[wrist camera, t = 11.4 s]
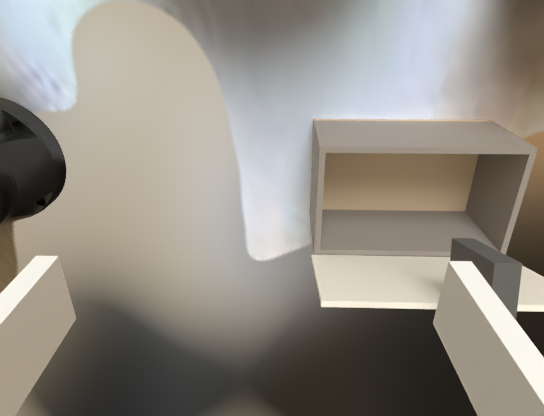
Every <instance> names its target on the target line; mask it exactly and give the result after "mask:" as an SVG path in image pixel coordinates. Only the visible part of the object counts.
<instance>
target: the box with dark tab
mask: <svg viewBox="0 0 544 416" xmlns="http://www.w3.org/2000/svg"><path fill="white" fill-rule="evenodd" d="M311 260H312V265H313V270H314V275H315V279H316V285H317V289H318V294H319V299H320V303H321V307H355V308H400V309H402V308H403V309H405V308H406V309H437V305H438V301H439V297H440V293H441V289H442V285H443V281H444V277H445V273H446V269H447V265H448V261H472V263H473V264H474V265H475V267H476V268H477V269H478V271H479V272H480V273H481V275H482V276H483V277H484V279H485V280H486V281H487V283H488V284H489V285H490V287H491V288H492V289H493V291H494V292H495V293H496V295H497V296H498V297H499V299H500V300H501V301H502V303H503V304H504V305H505V307H506V308H507V309H508V311H509V312H510V313H511V315H512V316H513V317H514V319H515V320H516V316H517V311H544V277H543V276H540V275H539V274H537V273H535V272H533V271H531V270H529V269H528V268H526V267H524V266H522V263H520V262H518V261H516V260H514V259H512V258H510V257H509V256H507V255H505V254H503V253H501V252H499V251H497V250H495V249H493V248H491V247H489V246H488V245H486V244H484V243H482V242H480V241H478V240H476V239H474V238H452V244H451V256H450V257H415V256H356V255H311Z"/></svg>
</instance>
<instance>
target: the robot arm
mask: <svg viewBox="0 0 544 416" xmlns="http://www.w3.org/2000/svg"><path fill="white" fill-rule="evenodd" d="M65 179H66V164H65V159H64V155H63V153H62V150H61V147H60V145H59V143H58V141H57V140H56V138H55V136H54V135H53V134H52V132H51V131H50V130H49V128H48V127H47V126H46V125H45V124H44V123H43V122H42V121H41V120H40V119H39V118H38V117H37V116H35V115H34V114H33V113H32V112H30V111H29V110H27V109H26V108H24V107H22V106H20V105H18V104H16V103H14V102H12V101H9V100H6V99H3V98H0V225H2V224H5V223H9V222H13V221H16V220H19V219H23V218H27V217H30V216H33V215H35V214H37V213H39V212H41V211H42V210H44V209H45V208H46V207H47V206H48V205H49V204H51V203H52V202H53V201H54V200H55V199H56V198H57V197H58V196H59V194H60V193H61V191H62V189H63V186H64V183H65ZM75 319H76V316H75V313H74V309H73V305H72V302H71V298H70V295H69V291H68V287H67V284H66V280H65V277H64V273H63V269H62V266H61V262H60V259H59V256H35V257H34V258H33V260H32V261H31V262H30V263H29V264H28V265H27V266H26V267H25V268H24V269H23V270H22V271H21V272H20V273H19V274H18V275H17V276H16V278H15V279H14V280H13V281H12V282H11V283H10V284H9V285H8V286H7V287H6V288H5V289H4V290H3V291H2V292H1V293H0V416H15V415H16V413H17V412H18V410H19V408H20V407H21V405H22V404H23V402H24V400H25V399H26V397H27V396H28V394H29V392H30V391H31V389H32V388H33V386H34V385H35V383H36V381H37V380H38V378H39V377H40V375H41V373H42V372H43V370H44V368H45V367H46V366H47V364H48V362H49V360H50V359H51V358H52V356H53V354H54V353H55V351H56V350H57V348H58V346H59V345H60V343H61V342H62V340H63V339H64V337H65V335H66V334H67V332H68V331H69V329H70V327H71V326H72V324H73V323H74V321H75ZM433 325H434V326H435V329H436V331H437V333H438V335H439V337H440V339H441V341H442V343H443V345H444V347H445V349H446V351H447V353H448V355H449V357H450V359H451V361H452V364H453V365H454V367H455V370H456V372H457V374H458V376H459V378H460V380H461V382H462V384H463V386H464V388H465V390H466V392H467V394H468V397H469V399H470V401H471V403H472V405H473V407H474V409H475V411H476V413H477V415H478V416H544V356H542V355H541V353H540V352H539V351H538V349H537V348H536V347H535V345H534V344H533V343H532V342H531V340H530V339H529V337H528V336H527V335H526V333H525V332H524V331H523V329H522V328H521V327H520V325H519V324H518V323H517V321H516V320H515V319H514V317H513V316H512V315H511V313H510V312H509V311H508V309H507V308H506V307H505V305H504V304H503V303H502V301H501V300H500V299H499V297H498V296H497V295H496V293H495V292H494V291H493V289H492V288H491V287H490V285H489V284H488V283H487V281H486V280H485V279H484V277H483V276H482V275H481V273H480V272H479V271H478V269H477V268H476V267H475V265H474V264H473V263H472V261H448V265H447V269H446V273H445V277H444V281H443V285H442V289H441V293H440V297H439V301H438V305H437V309H436V313H435V317H434V321H433Z"/></svg>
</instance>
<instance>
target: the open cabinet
mask: <svg viewBox="0 0 544 416" xmlns="http://www.w3.org/2000/svg"><path fill="white" fill-rule="evenodd" d="M537 150H538V148H537V147H535V146H533V145H532V144H530V143H528V142H527V141H525V140H523V139H521V138H520V137H518V136H516V135H515V134H513V133H511V132H509V131H508V130H506V129H504V128H502V127H501V126H499V125H497V124H496V123H494V122H492V121H490V120H384V119H314V123H313V146H312V169H311V192H310V219H311V229H312V239H313V248H314V254H327V255H388V256H447V257H448V256H449V257H450V256H451V244H452V238H474V239H476V240H478V241H480V242H482V243H484V244H486V245H488V246H489V247H491V248H493V249H495V250H497V251H499V252H501V253H503V254H506V251H507V248H508V245H509V241H510V238H511V235H512V231H513V228H514V225H515V222H516V219H517V215H518V212H519V209H520V206H521V202H522V199H523V196H524V193H525V189H526V186H527V183H528V180H529V176H530V173H531V170H532V166H533V163H534V160H535V157H536V154H537Z"/></svg>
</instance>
